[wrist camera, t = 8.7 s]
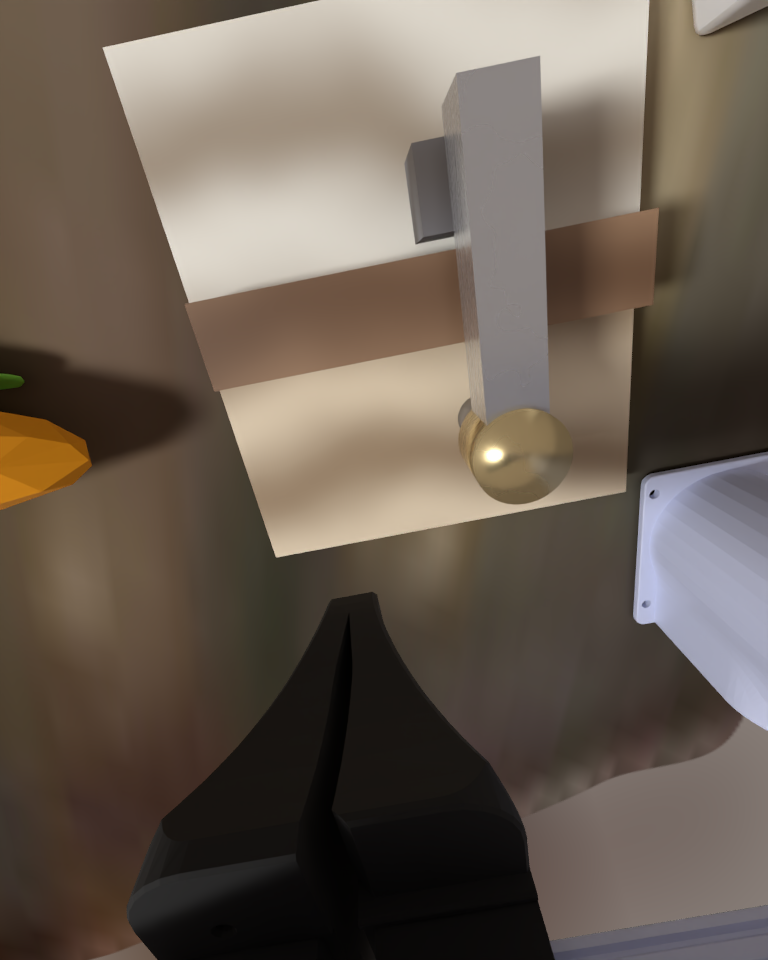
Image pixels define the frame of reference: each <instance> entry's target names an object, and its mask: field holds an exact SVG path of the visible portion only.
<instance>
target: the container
mask: <svg viewBox="0 0 768 960" xmlns="http://www.w3.org/2000/svg"><path fill="white" fill-rule="evenodd" d="M767 6H768V0H692V8H693V20H694V28H695V31H696V33H697V34H699V35H706V34H709V33H712V32H714V31H716V30H718V29H720V28H722V27H724V26H726V25H729V24H731V23H733V22H735V21H737V20H739V19H741V18H743V17H745V16H748V15H750V14H752V13H754V12H756V11H758V10H760V9H762V8H764V7H767Z"/></svg>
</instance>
